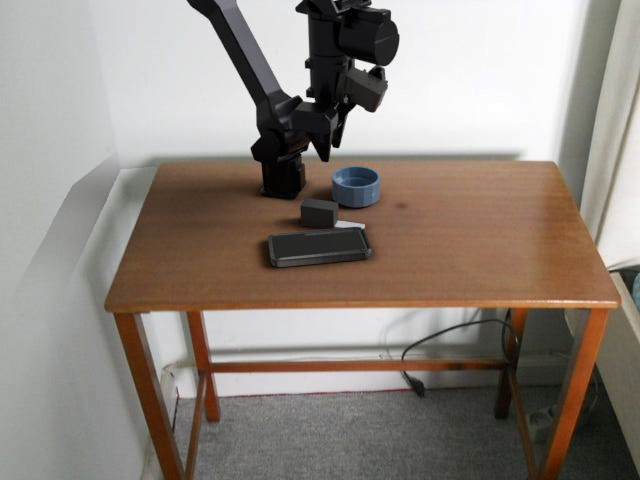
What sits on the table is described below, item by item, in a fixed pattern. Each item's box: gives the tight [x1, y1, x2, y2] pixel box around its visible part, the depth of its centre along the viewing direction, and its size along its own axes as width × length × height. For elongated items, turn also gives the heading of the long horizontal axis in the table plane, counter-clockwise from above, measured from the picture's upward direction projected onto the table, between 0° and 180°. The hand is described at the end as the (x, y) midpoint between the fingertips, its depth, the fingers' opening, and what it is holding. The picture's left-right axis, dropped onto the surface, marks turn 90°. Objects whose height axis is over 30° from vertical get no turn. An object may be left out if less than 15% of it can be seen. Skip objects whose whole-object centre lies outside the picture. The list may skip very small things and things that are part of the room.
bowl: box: [331, 165, 382, 209], centre depth 114 cm, size 8×8×4 cm
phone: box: [267, 227, 372, 268], centre depth 102 cm, size 8×1×15 cm
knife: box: [299, 197, 366, 230], centre depth 107 cm, size 10×3×4 cm, turn 75°
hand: (330, 154), depth 106 cm, fingers open, 5 cm apart
